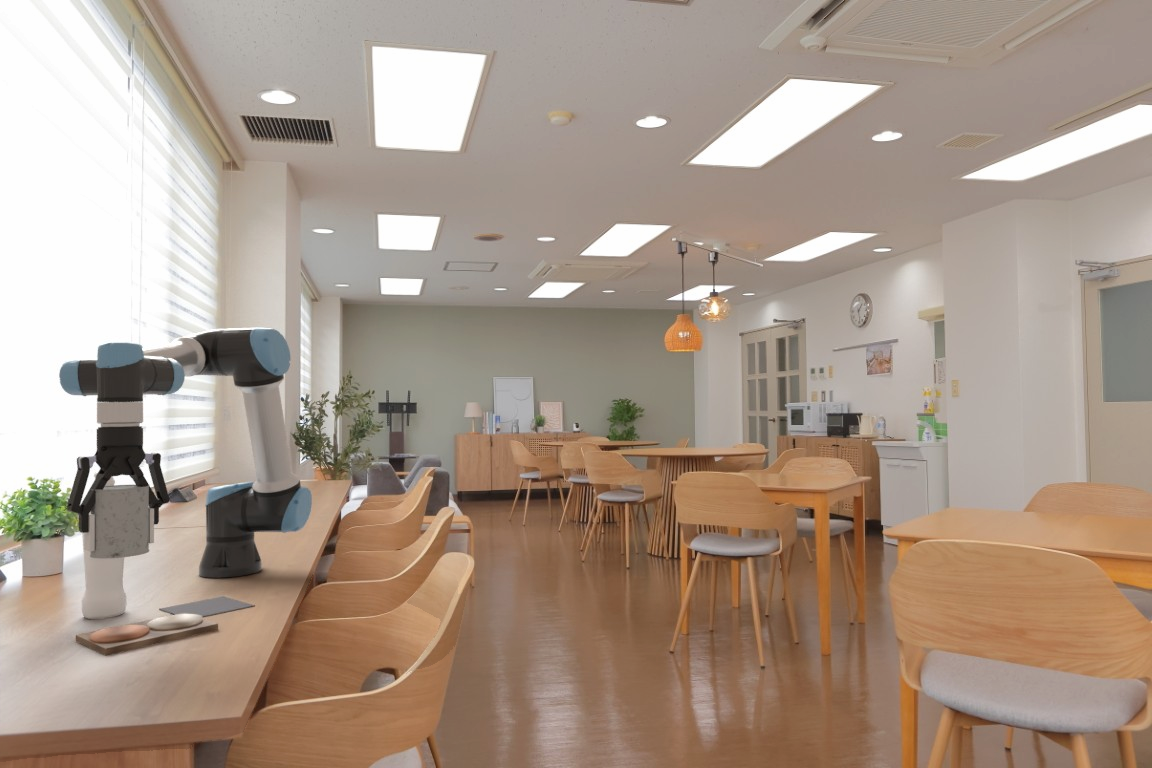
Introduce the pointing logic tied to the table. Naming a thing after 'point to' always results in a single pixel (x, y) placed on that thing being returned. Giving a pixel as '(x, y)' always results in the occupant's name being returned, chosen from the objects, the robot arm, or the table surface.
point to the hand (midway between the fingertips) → (119, 546)
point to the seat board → (145, 633)
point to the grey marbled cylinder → (121, 521)
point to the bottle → (103, 584)
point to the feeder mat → (208, 606)
